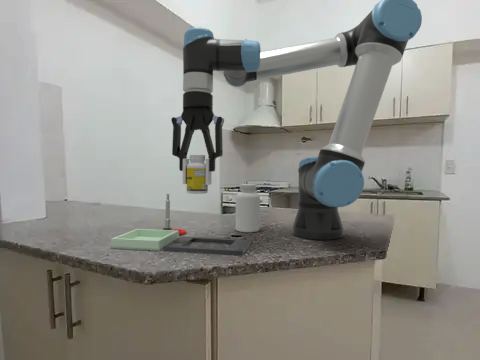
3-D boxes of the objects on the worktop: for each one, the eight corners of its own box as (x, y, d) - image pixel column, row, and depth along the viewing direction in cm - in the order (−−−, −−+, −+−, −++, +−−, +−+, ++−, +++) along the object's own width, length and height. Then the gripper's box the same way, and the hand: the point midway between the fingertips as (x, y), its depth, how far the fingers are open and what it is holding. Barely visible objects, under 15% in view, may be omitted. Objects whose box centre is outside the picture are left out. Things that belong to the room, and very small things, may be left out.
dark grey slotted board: (251, 243, 87) (251, 239, 87) (242, 255, 75) (242, 250, 75) (181, 239, 91) (181, 236, 91) (163, 250, 79) (163, 246, 79)
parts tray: (179, 239, 91) (179, 230, 91) (158, 251, 79) (158, 241, 79) (137, 237, 94) (137, 228, 94) (111, 248, 81) (110, 238, 81)
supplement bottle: (185, 192, 84) (185, 155, 84) (205, 192, 86) (205, 155, 86) (188, 194, 79) (188, 154, 79) (209, 193, 81) (210, 155, 81)
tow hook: (164, 232, 104) (152, 236, 95) (165, 192, 104) (153, 193, 95) (189, 233, 103) (179, 238, 94) (190, 192, 103) (180, 193, 94)
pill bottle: (258, 233, 100) (259, 185, 99) (233, 232, 101) (233, 185, 100) (261, 228, 107) (261, 183, 107) (237, 227, 109) (237, 183, 108)
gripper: (236, 95, 84) (234, 184, 85) (170, 97, 87) (169, 182, 88) (229, 88, 76) (228, 186, 77) (157, 90, 80) (157, 184, 81)
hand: (197, 183), depth 83 cm, fingers closed on supplement bottle, 5 cm apart
